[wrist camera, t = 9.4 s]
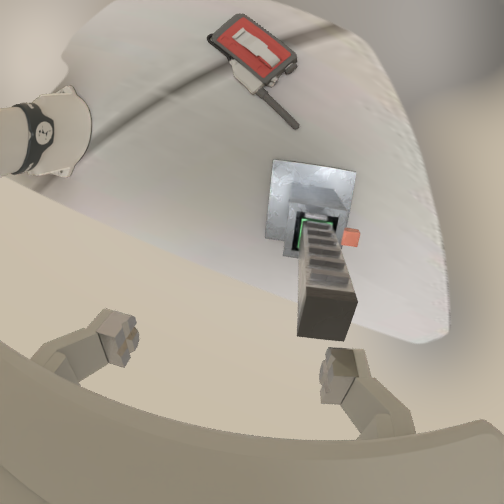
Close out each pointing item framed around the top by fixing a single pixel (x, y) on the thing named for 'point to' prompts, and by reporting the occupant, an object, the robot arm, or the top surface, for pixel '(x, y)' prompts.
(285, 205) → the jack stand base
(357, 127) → the top surface
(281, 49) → the walkie-talkie
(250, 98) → the top surface
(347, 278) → the column
